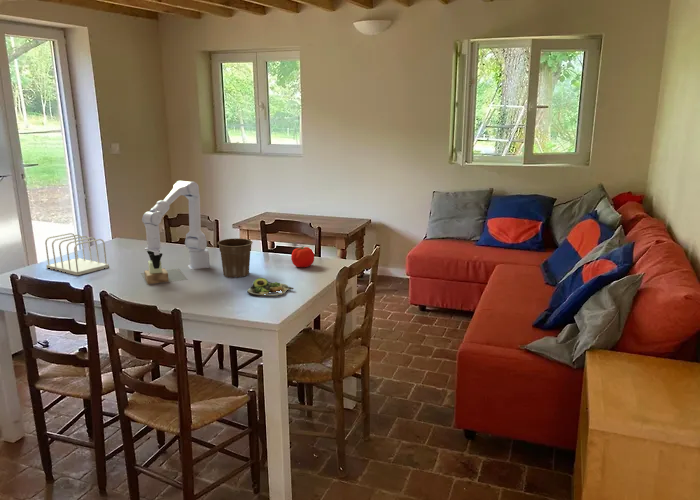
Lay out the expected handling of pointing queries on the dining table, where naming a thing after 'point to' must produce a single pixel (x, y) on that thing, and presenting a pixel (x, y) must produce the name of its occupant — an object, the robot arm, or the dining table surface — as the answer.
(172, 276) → the building mat
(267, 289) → the salad plate
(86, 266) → the file sorter
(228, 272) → the plant pot
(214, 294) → the dining table surface
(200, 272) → the dining table surface
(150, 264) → the sage cube
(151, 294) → the dining table surface
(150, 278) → the walnut base block
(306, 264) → the tomato
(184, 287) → the dining table surface
